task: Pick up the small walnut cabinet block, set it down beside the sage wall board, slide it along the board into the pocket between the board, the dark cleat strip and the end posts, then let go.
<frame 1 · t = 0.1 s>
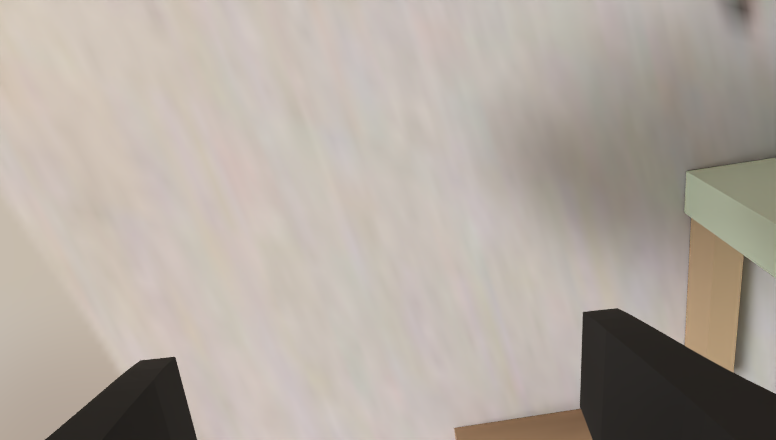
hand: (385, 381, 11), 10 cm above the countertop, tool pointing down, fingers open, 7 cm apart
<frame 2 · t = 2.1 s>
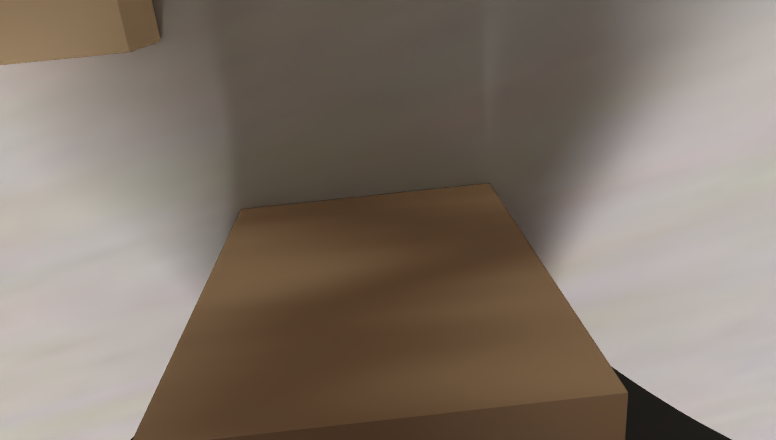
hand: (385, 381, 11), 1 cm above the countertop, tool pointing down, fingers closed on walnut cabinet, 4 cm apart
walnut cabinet: (381, 337, 12), on the countertop, touching gripper
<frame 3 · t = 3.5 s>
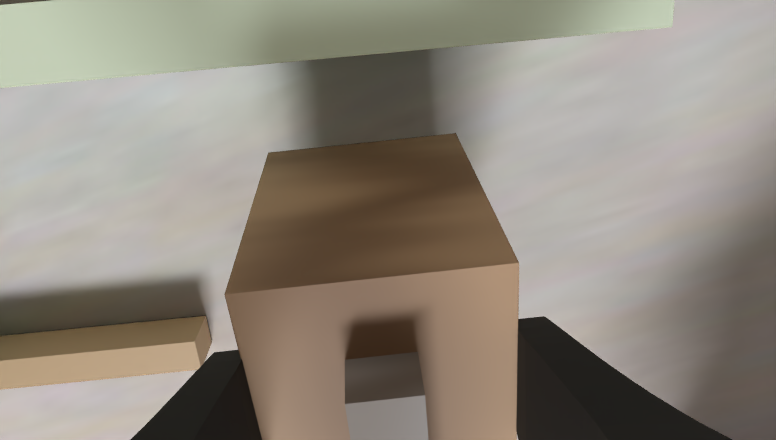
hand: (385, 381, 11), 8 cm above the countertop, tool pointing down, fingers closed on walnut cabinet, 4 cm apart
wall board: (216, 17, 16), on the countertop
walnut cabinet: (374, 251, 16), point 3 cm above the countertop, tilted 6°, touching gripper
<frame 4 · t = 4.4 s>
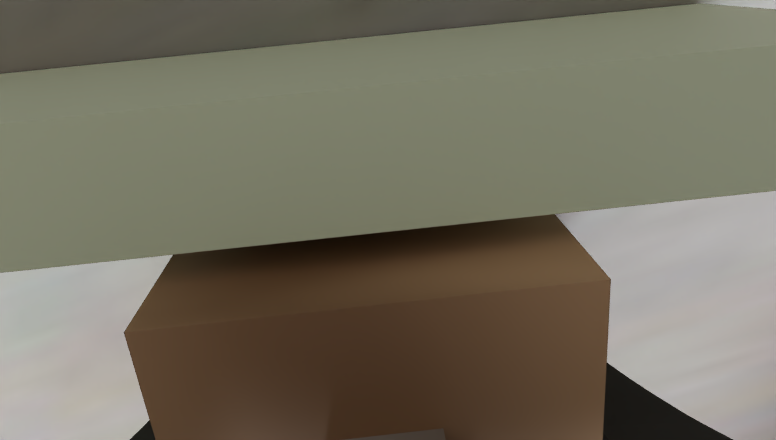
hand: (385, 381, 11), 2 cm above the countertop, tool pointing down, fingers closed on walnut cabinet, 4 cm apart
wall board: (126, 106, 11), on the countertop
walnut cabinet: (375, 286, 12), on the countertop, touching gripper
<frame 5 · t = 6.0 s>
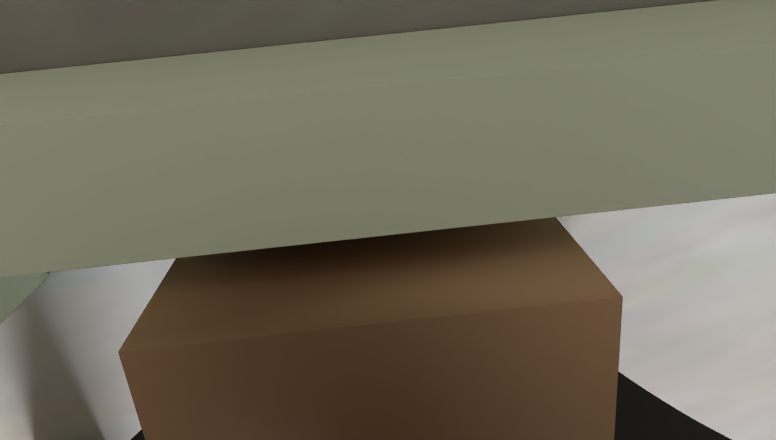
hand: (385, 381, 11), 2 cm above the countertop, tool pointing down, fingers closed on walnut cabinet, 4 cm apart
wall board: (517, 66, 11), on the countertop
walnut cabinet: (377, 294, 12), on the countertop, touching gripper
when the fingers open (2 cm above the countertop, at t = 7.8 s): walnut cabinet stays where it is, on the countertop.
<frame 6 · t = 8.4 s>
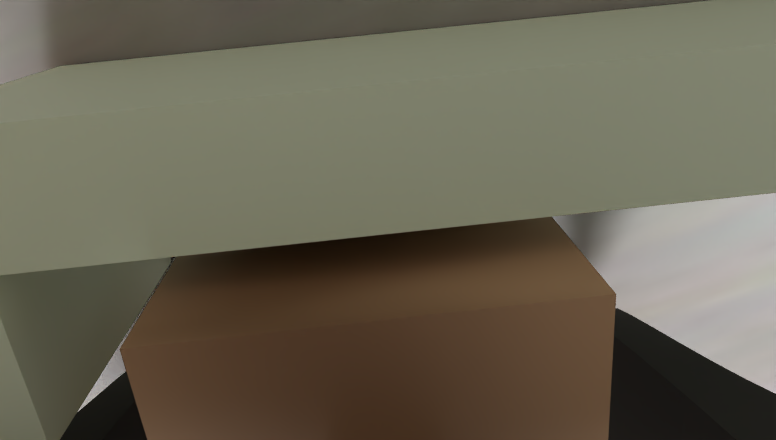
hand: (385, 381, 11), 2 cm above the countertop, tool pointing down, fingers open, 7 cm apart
wall board: (650, 51, 11), on the countertop
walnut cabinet: (376, 292, 12), on the countertop
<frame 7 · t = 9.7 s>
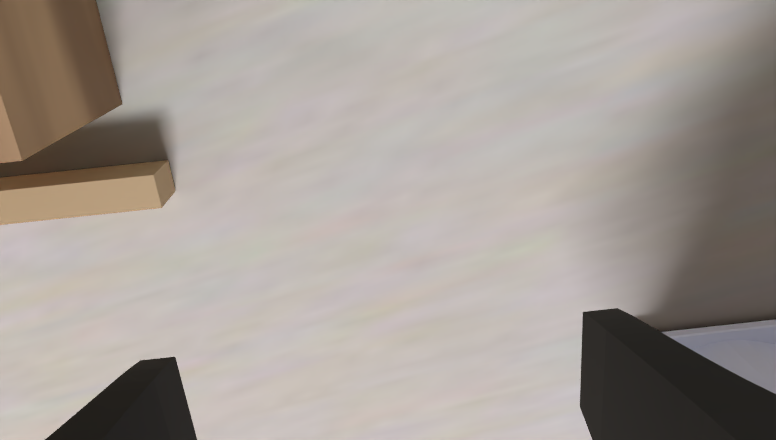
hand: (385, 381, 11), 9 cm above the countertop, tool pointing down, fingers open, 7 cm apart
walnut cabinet: (13, 4, 17), on the countertop
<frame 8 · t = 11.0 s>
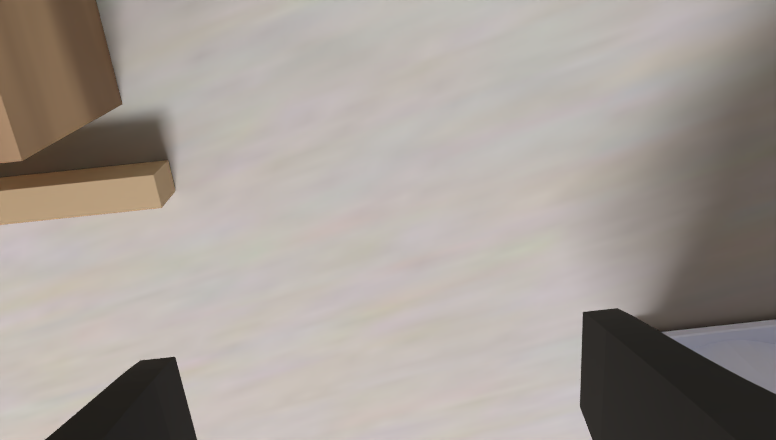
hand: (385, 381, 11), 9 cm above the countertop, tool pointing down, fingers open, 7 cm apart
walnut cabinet: (13, 4, 17), on the countertop
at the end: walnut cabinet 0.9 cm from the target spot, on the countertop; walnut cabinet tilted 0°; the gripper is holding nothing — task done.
